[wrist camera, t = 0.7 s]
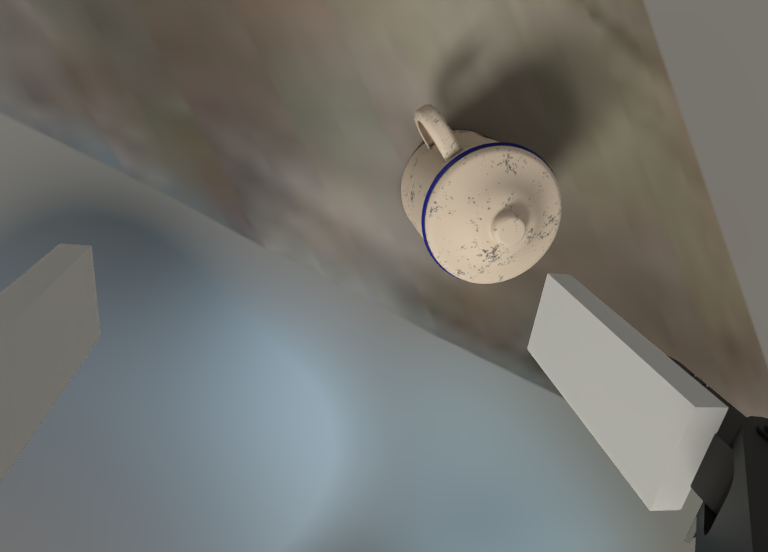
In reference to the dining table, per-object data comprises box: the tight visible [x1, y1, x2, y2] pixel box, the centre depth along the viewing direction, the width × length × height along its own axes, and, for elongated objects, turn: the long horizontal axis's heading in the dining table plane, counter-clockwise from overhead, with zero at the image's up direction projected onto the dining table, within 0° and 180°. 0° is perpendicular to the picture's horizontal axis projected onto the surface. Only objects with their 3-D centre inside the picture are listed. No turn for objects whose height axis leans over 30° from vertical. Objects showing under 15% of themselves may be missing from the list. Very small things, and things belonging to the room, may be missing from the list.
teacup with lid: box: [401, 105, 562, 284], centre depth 34 cm, size 12×9×12 cm
